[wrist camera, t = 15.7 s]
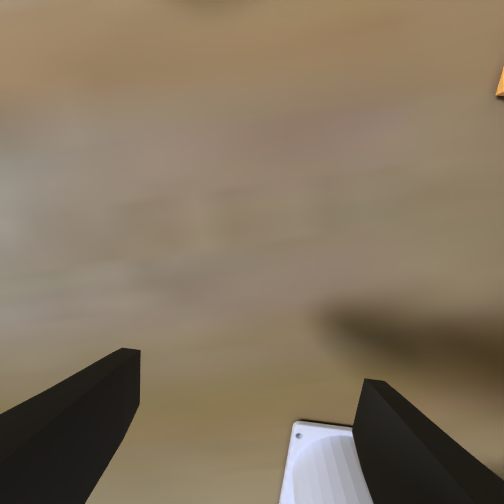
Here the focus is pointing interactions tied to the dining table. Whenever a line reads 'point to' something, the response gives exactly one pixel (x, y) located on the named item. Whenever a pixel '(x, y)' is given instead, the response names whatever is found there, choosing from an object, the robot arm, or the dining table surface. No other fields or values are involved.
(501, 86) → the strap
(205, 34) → the dining table surface
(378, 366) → the dining table surface
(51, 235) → the dining table surface
